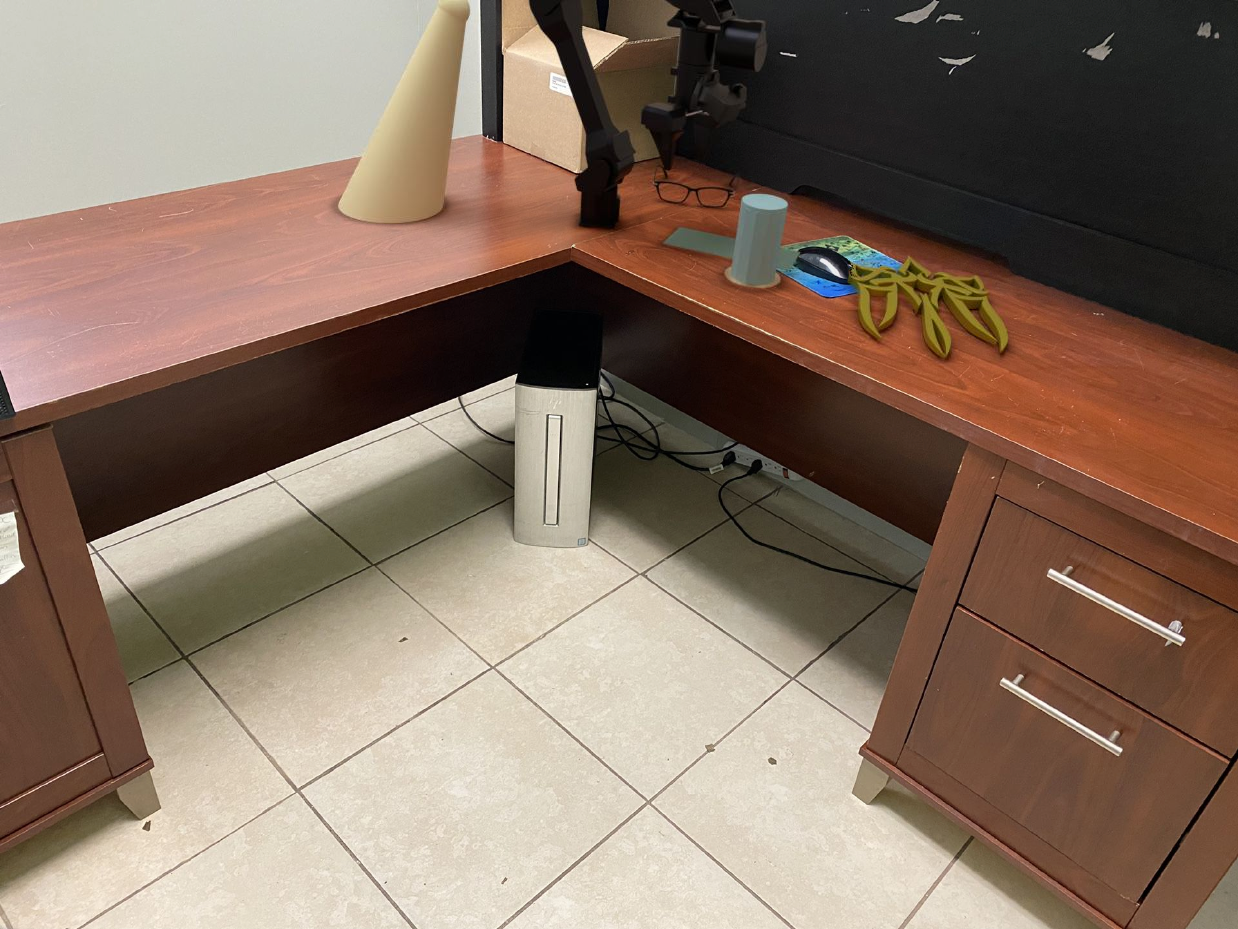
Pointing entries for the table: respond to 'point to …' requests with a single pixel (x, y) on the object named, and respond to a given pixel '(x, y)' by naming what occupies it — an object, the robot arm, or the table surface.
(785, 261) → the mat
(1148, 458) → the table surface
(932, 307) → the gold ornamental emblem
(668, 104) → the robot arm
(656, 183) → the eyeglasses
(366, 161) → the cone light
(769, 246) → the tumbler
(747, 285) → the knob on round base
